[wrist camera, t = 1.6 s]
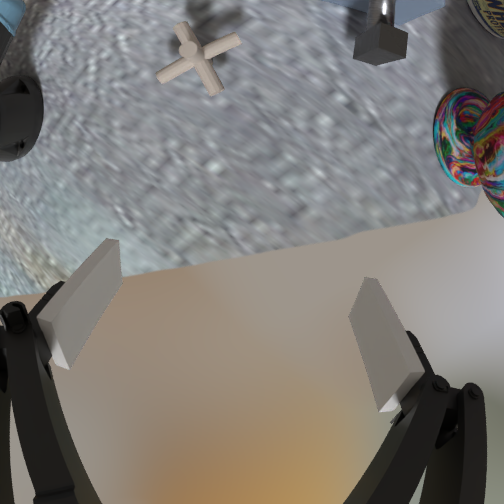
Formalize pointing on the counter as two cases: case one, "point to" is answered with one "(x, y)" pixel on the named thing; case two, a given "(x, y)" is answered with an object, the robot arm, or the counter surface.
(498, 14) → the supplement tub
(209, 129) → the counter surface
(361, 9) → the pillow block
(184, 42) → the pipe connector
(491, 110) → the vase
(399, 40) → the shaft
